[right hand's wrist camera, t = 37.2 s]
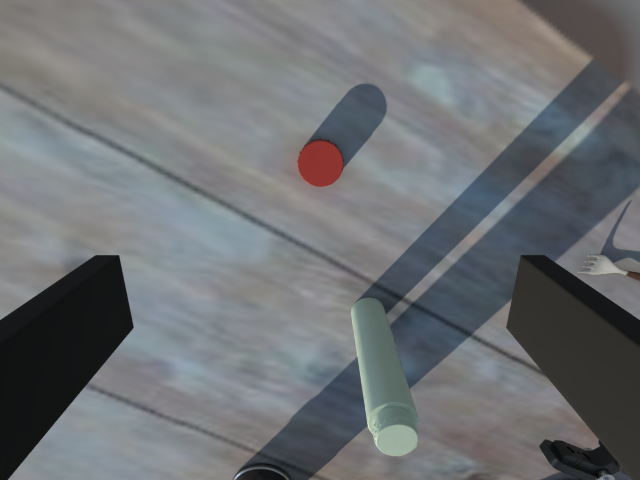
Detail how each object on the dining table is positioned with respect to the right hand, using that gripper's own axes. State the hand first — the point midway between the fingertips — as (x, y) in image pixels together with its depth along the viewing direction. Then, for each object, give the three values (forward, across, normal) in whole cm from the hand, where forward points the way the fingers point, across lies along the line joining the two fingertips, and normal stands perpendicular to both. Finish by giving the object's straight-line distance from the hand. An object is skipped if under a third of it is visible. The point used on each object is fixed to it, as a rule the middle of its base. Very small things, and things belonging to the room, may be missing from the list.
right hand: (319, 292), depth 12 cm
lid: (+28, 0, 0) cm, 28 cm away
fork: (+30, +38, -14) cm, 50 cm away
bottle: (+30, +6, -19) cm, 36 cm away
